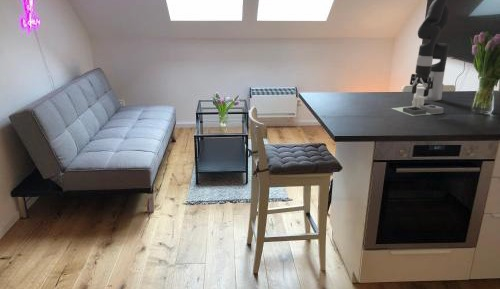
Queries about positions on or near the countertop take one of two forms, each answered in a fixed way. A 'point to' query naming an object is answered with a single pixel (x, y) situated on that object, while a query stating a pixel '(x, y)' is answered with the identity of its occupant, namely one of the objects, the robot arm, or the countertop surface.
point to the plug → (418, 101)
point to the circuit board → (429, 109)
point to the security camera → (420, 92)
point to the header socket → (414, 110)
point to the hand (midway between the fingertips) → (419, 94)
